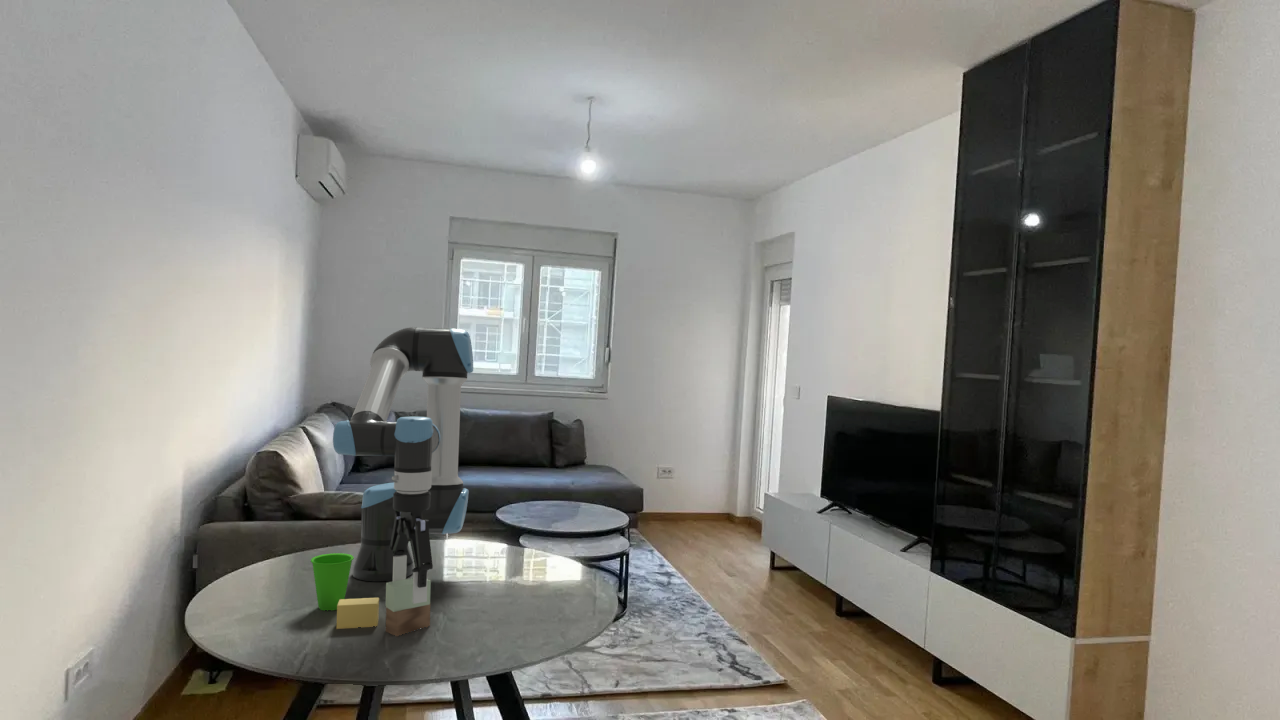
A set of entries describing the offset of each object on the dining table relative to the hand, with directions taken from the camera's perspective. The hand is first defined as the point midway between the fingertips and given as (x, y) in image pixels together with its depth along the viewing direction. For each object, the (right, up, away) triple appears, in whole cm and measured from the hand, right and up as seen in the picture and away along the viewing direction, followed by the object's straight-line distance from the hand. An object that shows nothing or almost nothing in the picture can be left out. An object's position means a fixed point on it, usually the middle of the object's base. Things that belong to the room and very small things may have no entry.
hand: (409, 593), depth 158 cm
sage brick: (0, -2, 0) cm, 2 cm away
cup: (-21, -7, +12) cm, 25 cm away
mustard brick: (-11, -7, +2) cm, 14 cm away
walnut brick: (0, -7, 0) cm, 7 cm away
